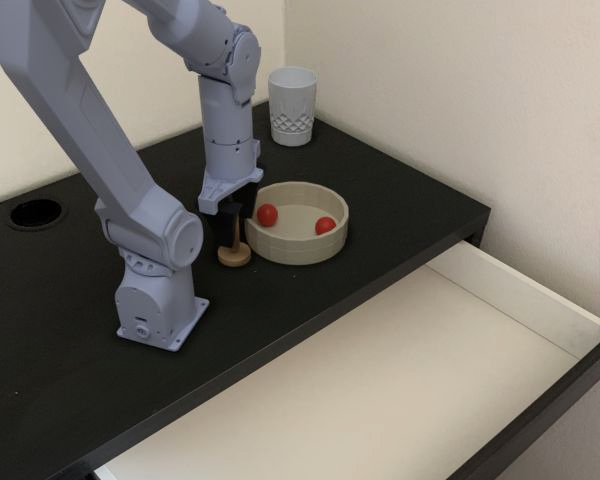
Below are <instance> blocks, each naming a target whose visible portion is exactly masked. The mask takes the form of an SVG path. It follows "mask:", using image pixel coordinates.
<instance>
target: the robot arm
mask: <svg viewBox="0 0 600 480" xmlns="http://www.w3.org/2000/svg"><path fill="white" fill-rule="evenodd" d="M121 1H122V2H124V3H125V4H127V5H129V6H130V7H131V8H133V9H135V10H136V11H138V12H139V13H140V14H142V15H144V16H146V21H147V26H148V29H149V31H150V34H151V35H152V37H154V39H155V40H156V41H158V42H159V43H160V44H162V45H163V46H165V47H166V48H168V49H169V50H170V51H171V52H173V53H175V54H176V55H177V56H179V57H181V58H182V59H183V63H184V66H185V68H186V70H187V71H188V72H193V73H195V74H198V75H197V82H198V83H197V84H198V93H199V103H200V113H201V123H202V132H203V133H202V134H203V135H202V136H203V143H204V153H205V154H204V155H205V163H206V164H205V168H204V172H203V173H204V174H203V182H202V189H201V191H200V192H199V193H198V194H197V196H195V198H194V207H195V209H196V210H197V211H198V212H199V213H200V214H201V216H202V217H203V218H204V219H205V221H206V223H207V224H208V226H209V228H210V231H211V234H212V236H213V238H214V240H215V243H216V245H217V246H219V247H220V246H223V247H227V248H232V247H233V245H234V241H235V231H236V221H237V217H238V218H239V219H243V220H244V219H247V218H248V219H252V217H253V214H254V209H255V204H256V199H257V194H258V190H260V187H261V184H262V181H263V180H264V177H265V175H266V173H267V171H268V166H267V165H266V163H262V162H258V161H257V160H258V158H259V157H260V155H261V140H259V139H254V132H253V131H254V129H253V127H254V126H253V106H252V104H253V103H252V97H253V96H254V95H255V92H256V89H257V75H258V74H257V73H258V70H259V67H260V63H261V58H262V46H260V44H259V40H258V38H257V36H256V35H255V34H254V32H253V31H252V29H251V27H249V26H248V25H245V24H241V23H237V22H234V21H232V20H231V19H230V18H229V16H227V10H226V9H225V8H224V7H223V6H222V5H219V4H215V3H212V2H211V1H210V0H121ZM106 2H107V0H0V67H1V69H2V71H3V73H4V74H5V75H6V76H7V78H8V79H9V80H10V82H11V83H12V84H13V86H15V88H16V90H17V91H18V92H19V94H20V95H21V96H22V98H23V99H24V100H25V102H26V103H27V105H29V107H30V108H31V109H32V111H33V112H34V113H35V114H36V116H37V118H38V119H39V120H40V122H41V123H42V124H43V125H44V127H45V129H46V130H47V131H48V132H49V133H50V134H51V136H52V137H53V139H54V140H55V141H56V143H57V144H58V145H59V146H60V148H61V149H62V150H63V152H64V153H65V155H66V156H67V157H68V158H69V159H70V161H71V162H72V164H73V165H74V166H75V168H76V169H77V171H79V173H80V174H81V175H82V176H83V178H84V179H85V180H86V182H87V183H88V185H89V186H90V187H91V189H92V190H93V191H94V193H95V194H96V195H97V196H98V198H97V200H96V203H95V204H94V205H95V206H94V208H93V210H94V212H95V213H96V214H97V216H98V218H99V219H100V222H101V227H102V232H103V235H104V236H105V239H106V240H107V241H108V242H109V243H110V244H111V245H114V246H117V249H118V255H119V256H120V257H122V258H123V259H124V264H125V265H124V267H125V268H124V274H123V278H122V280H121V283H120V285H119V286H118V288H117V289H116V291H115V294H114V302H115V306H116V310H117V315H118V319H119V323H120V326H119V328H118V329H117V331H116V335H117V337H119V338H123V339H125V340H126V339H127V340H130V341H134V342H138V343H141V344H144V345H148V346H151V347H152V346H153V347H155V348H160V349H163V350H167V351H170V352H177V351H179V350H180V348H181V347H182V345H183V344H184V343H185V342H186V339H187V338H188V336H189V335H190V333H192V331H193V329H194V327H196V324H198V323H199V320H200V319H201V318H202V316H203V314H204V313H205V312H206V311H207V309H208V308H209V306H210V301H209V300H208V299H206V298H202V297H198V296H195V287H194V279H193V272H192V264H193V262H194V261H196V259H197V257H198V256H199V254H200V251H201V250H202V246H203V242H204V228H203V223H202V221H201V219H200V217H199V216H198V215H196V214H195V213H193V212H190V211H188V210H187V209H186V208H185V206H184V204H183V203H182V202H181V201H180V200H179V199H177V198H176V197H175V196H173V195H172V194H170V193H169V192H167V191H166V190H165V189H164V188H163V187H161V186H159V184H158V183H156V182H155V180H154V178H153V177H152V175H151V174H150V172H149V170H148V169H147V167H146V166H145V164H144V162H143V160H142V159H141V157H140V156H139V154H138V152H137V151H136V149H135V147H134V146H133V144H132V142H131V141H130V140H129V137H128V136H127V135H126V132H125V131H124V130H123V127H122V126H121V125H120V123H119V121H118V119H117V118H116V116H115V115H114V113H113V111H112V110H111V108H110V107H109V105H108V103H107V101H106V100H105V98H104V97H103V95H102V94H101V92H100V89H98V86H97V85H96V83H95V82H94V81H93V78H92V77H91V76H90V74H89V72H88V71H87V69H86V67H85V66H84V64H83V63H82V61H81V59H80V55H82V54H84V53H86V52H88V51H89V50H90V47H91V45H92V41H93V38H94V36H95V33H96V30H97V28H98V24H99V22H100V20H101V16H102V13H103V11H104V8H105V5H106ZM230 195H231V198H230V197H228V196H230ZM231 199H232V200H231Z"/></svg>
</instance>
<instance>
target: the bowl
mask: <svg viewBox="0 0 600 480" xmlns="http://www.w3.org/2000/svg"><path fill="white" fill-rule="evenodd" d="M263 204H271V205H273V206H274V207H275V208H276V209H277V211H278V219H277V221H276V222H275V223H274V224H273V225H270V226H265V225H262V224H261V223H260V222H259V221H258V219H257V211H258V209H259V207H260V206H262V205H263ZM349 213H350V212H349V206H348V204H347V202H346V201H345V199H344V197H342V196H341V195H340V194H338V193H337V192H336V191H335V190H333V189H330V188H328V187H326V186H323V185H321V184H317V183H312V182H308V181H283V182H277V183H273V184H270V185H266V186H264V187H261V188H259V190H258V194H257V199H256V204H255V209H254V214H253V217H252V219H248V218H247V219H243V220H244V235H245V240H246V242H247V245H248V246H249V248H250V249H251V250H252V251H253V252H255V253H256V254H257V255H259V256H260V257H261V258H264V259H266V260H269V261H271V262H274V263H277V264H282V265H289V266H306V265H312V264H317V263H321V262H324V261H326V260H328V259H331V258H332V257H334V256H336V254H339V252H340V251H341V250H342V249H343V247H344V246H345V243H346V241H347V237H348V229H349V228H348V226H349V216H350V215H349ZM322 217H330V218H332V219H333V220H334V221H335V223H336V227H335V228H334V229H332V230H331V231H329V232H326V233H324V234H321V235H317V234H316V232H315V224H316V222H317V221H318V220H319V219H320V218H322Z"/></svg>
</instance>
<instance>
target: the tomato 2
mask: <svg viewBox="0 0 600 480" xmlns="http://www.w3.org/2000/svg"><path fill="white" fill-rule="evenodd" d="M335 227H336V223H335V221H334V220H333V219H332V218H330V217H322V218H320V219H319V220H318V221H317V222H316V224H315V232H316V234H317V235H321V234H324V233H326V232H329V231H331V230H332V229H334V228H335Z"/></svg>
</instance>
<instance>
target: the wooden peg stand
mask: <svg viewBox="0 0 600 480" xmlns="http://www.w3.org/2000/svg"><path fill="white" fill-rule="evenodd" d="M239 219H240V218H239V217H237V221H236V231H235V241H234V245H233V247H232V248H227V247H223V246H219V247H218V249H217V259H218V261H219V262H220V263H221V264H222V265H224V266H227V267H232V268H233V267H234V268H235V267H236V268H237V267H242V266H244V265H246V264H247V263H249V262H250V260H251V258H252V252H251V250H252V249H251V247H250V246H249V244H246V243H245V242H242V241H240V240H241V239H240V222H239Z"/></svg>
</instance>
